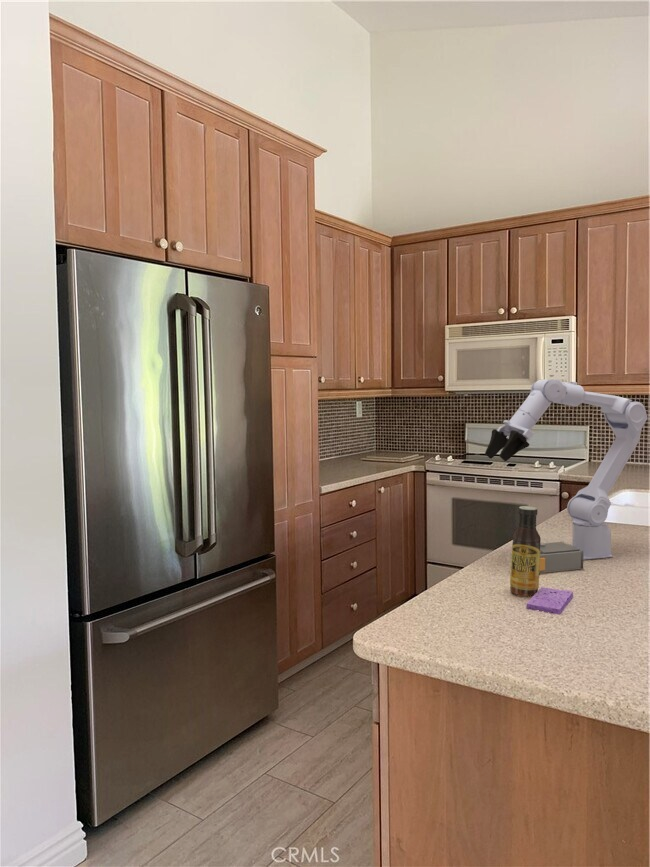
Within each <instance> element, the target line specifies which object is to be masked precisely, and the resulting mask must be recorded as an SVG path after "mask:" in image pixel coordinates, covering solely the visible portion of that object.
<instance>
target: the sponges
mask: <svg viewBox="0 0 650 867" xmlns="http://www.w3.org/2000/svg"><path fill="white" fill-rule="evenodd" d="M573 598H574V591H573V590H568V589H567V590H566V589H558V588H549V587H545V586H541V587H539V588H538V592H537V593H536V594H535V595H534V596H531V597H530V599H529V600H528V601H527V602H526V609H528V610H529V609H532V610H531V611H535V610H539V611H538V612H542V611H544V612H543V613H548V612H549V613H548V614H555V615H561V614H562V612H563V611H564V610H565V608H566V607H567V605H568V604H569V603H570V602H571V601H572V600H573Z"/></svg>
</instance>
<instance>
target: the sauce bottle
mask: <svg viewBox="0 0 650 867" xmlns="http://www.w3.org/2000/svg"><path fill="white" fill-rule="evenodd" d="M518 515H519V516H518V524H517V525H518V526H517V528H516V529H515V531H514V532H513V536H512V546H511V555H510V556H511V557H510V559H511V560H510V574H509V575H510V576H509V578H510V579H509V585H510V590H509V591H510V592H511V593H512V594H513V595H516V596H520V597H528V596H529V597H530V598H532V597H533V596H534V595H535V594H536V593H537V592H538V591H539V588H540V586H539V585H540V583H539V582H540V573H539V568H540V543H541V536H540V534H539V532H538V530H537V517H538V516H537V515H538V508H537V507H534V506H529V505H523V506H519V507H518ZM529 597H528V598H529Z"/></svg>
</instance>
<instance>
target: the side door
mask: <svg viewBox="0 0 650 867" xmlns="http://www.w3.org/2000/svg"><path fill="white" fill-rule="evenodd" d="M583 554H584V551H574V552H563V553H552V554H540V568H539V574H540V573H541V574H542V573H550V572H559V571H572V570H582V569H583V570H584V560H583Z"/></svg>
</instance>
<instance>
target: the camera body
mask: <svg viewBox="0 0 650 867" xmlns="http://www.w3.org/2000/svg"><path fill="white" fill-rule="evenodd" d="M574 551H580V549H578V548H575V547H573V546H572V545H570V544H568V543H565V542H562V541H556V542H555V541H554V542H540V554H552V553H563V552H574Z"/></svg>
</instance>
